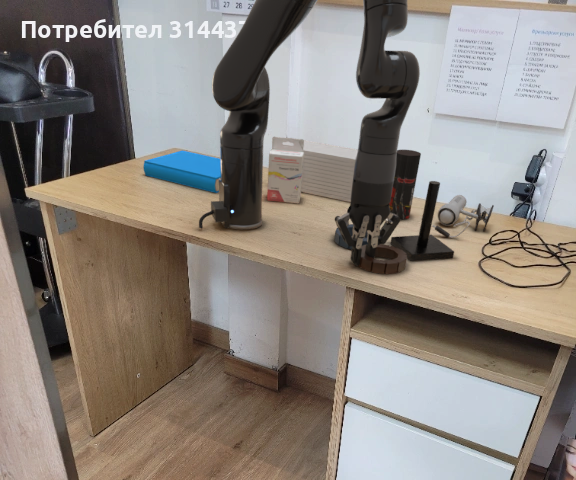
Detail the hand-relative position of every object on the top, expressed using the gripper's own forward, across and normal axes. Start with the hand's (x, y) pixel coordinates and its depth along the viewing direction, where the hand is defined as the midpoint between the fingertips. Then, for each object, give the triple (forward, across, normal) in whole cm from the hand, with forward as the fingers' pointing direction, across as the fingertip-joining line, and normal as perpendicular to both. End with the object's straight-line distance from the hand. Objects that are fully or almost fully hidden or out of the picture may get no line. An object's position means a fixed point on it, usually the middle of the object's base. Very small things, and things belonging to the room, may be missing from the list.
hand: (361, 263), depth 112 cm
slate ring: (0, -4, -12) cm, 13 cm away
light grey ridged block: (0, -11, -48) cm, 49 cm away
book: (0, +23, -65) cm, 69 cm away
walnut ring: (0, -4, 0) cm, 4 cm away
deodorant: (0, -21, -27) cm, 34 cm away
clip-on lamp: (0, -32, -16) cm, 36 cm away
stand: (0, -16, -5) cm, 17 cm away
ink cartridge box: (0, +4, -43) cm, 43 cm away
